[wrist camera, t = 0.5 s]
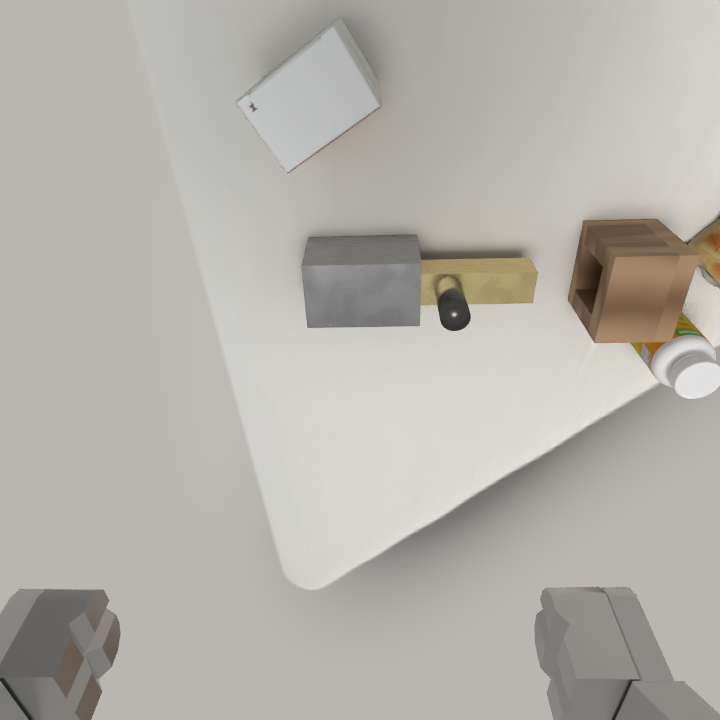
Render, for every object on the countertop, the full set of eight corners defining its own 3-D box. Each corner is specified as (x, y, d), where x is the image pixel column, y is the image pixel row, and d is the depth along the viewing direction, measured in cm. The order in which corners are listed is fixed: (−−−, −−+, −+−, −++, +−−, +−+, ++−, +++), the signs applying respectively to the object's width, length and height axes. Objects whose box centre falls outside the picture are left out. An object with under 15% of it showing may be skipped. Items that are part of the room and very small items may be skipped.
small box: (301, 141, 47) (285, 177, 38) (259, 79, 45) (231, 103, 36) (381, 83, 45) (383, 108, 36) (341, 14, 42) (333, 23, 33)
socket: (583, 220, 50) (615, 257, 44) (656, 219, 50) (699, 255, 44) (567, 299, 55) (594, 343, 48) (634, 298, 55) (671, 341, 48)
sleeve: (308, 237, 52) (301, 265, 47) (416, 234, 51) (421, 263, 46) (313, 295, 55) (307, 327, 50) (415, 293, 55) (419, 325, 50)
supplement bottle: (679, 293, 54) (733, 347, 46) (682, 338, 57) (732, 396, 49) (622, 309, 56) (664, 365, 47) (627, 352, 58) (668, 412, 50)
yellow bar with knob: (307, 262, 51) (297, 304, 44) (529, 257, 50) (553, 299, 44) (310, 291, 53) (301, 336, 46) (524, 287, 52) (547, 332, 45)
